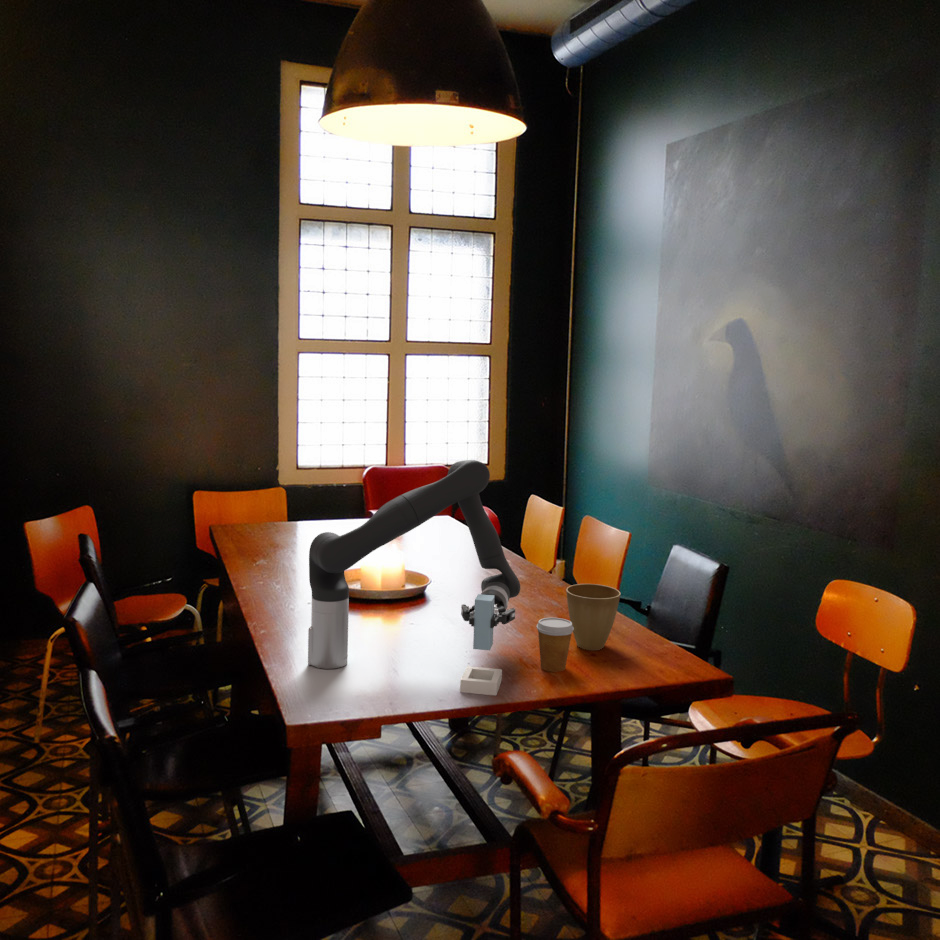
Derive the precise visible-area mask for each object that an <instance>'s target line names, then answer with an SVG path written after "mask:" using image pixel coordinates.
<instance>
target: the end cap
mask: <svg viewBox="0 0 940 940" xmlns="http://www.w3.org/2000/svg"><path fill="white" fill-rule="evenodd" d="M502 677H503V669H501V668H490V667H481V666H480V667H478V666H468V665H467V666H466V668H465V670H464V672H463V675H461V678H460V687H459V692H460V693H466V694H477V695H485V696H486V695H487V696H497V695H498V692H499V690H500V687H501V683H502Z"/></svg>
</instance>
